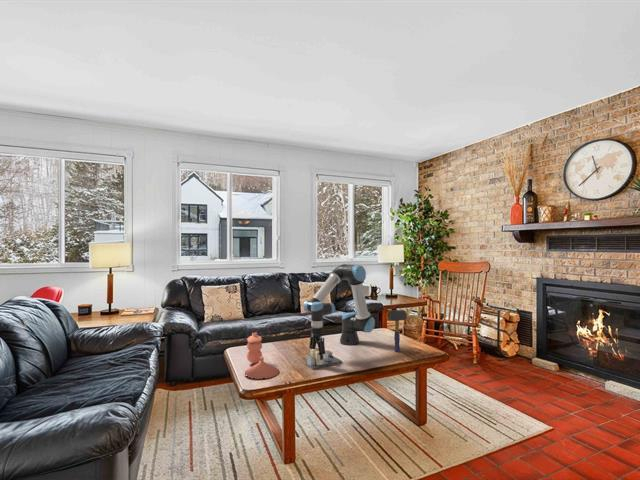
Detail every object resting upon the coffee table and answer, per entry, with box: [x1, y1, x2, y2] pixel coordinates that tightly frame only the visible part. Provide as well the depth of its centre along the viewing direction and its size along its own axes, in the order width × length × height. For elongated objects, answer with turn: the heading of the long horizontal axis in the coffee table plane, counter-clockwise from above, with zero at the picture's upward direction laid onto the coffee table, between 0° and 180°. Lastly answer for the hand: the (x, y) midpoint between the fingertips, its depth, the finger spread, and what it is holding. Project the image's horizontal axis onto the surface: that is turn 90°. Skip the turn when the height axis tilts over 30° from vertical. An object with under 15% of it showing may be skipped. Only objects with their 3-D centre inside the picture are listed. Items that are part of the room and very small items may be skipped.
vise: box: [304, 353, 343, 370], centre depth 224 cm, size 10×22×7 cm, turn 122°
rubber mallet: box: [387, 309, 408, 353], centre depth 247 cm, size 12×8×30 cm, turn 104°
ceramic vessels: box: [244, 332, 280, 380], centre depth 217 cm, size 35×21×19 cm, turn 24°
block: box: [310, 347, 324, 366], centre depth 221 cm, size 8×5×8 cm, turn 32°
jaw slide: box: [324, 350, 335, 362], centre depth 224 cm, size 8×3×6 cm, turn 32°
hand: (317, 362), depth 221 cm, fingers closed on block, 8 cm apart
